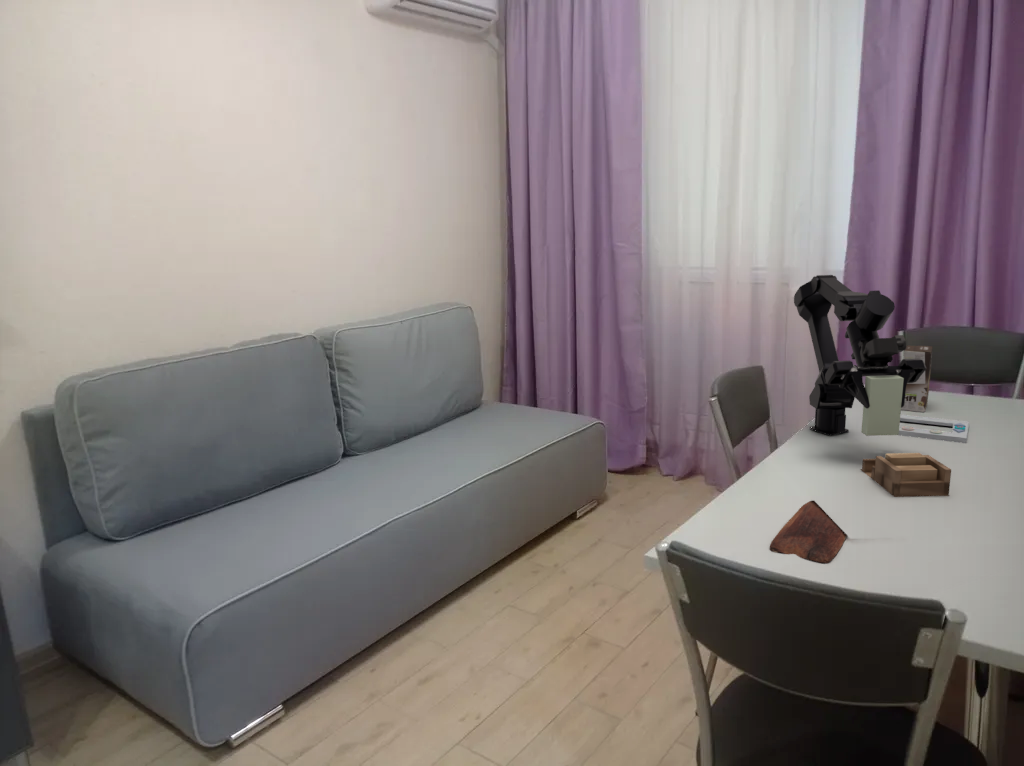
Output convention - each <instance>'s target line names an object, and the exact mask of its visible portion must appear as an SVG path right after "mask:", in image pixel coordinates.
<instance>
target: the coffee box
mask: <svg viewBox="0 0 1024 766" xmlns="http://www.w3.org/2000/svg"><path fill="white" fill-rule="evenodd" d="M906 346H907V347H906V350H904V351H903V359H921V360H923V361H924V363H925V366H926V370H925V371H924V373H923V374H922V375H921V376H920V378H919V379H918V380H917V381H916V382H914V383H907V385H906V393H905V403H904V406H903V407H902V408H901V411H911V412H918V413H925V412H926V409H927V406H928V403H929V402H928V401H929V393H930V382H931V371H932V358H933V348H934V347H933V346H932V345H931V346H930V345H909V344H908V345H907V344H906Z"/></svg>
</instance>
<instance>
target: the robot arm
mask: <svg viewBox="0 0 1024 766" xmlns="http://www.w3.org/2000/svg"><path fill="white" fill-rule="evenodd" d="M793 303H794V307H796V309H797V312H798V313H797V314H798V315H799V316H800V318H802V319H803V320H804V321H806V323H807V325H808V329H809V332H810V333H809V334H810V338H811V342H812V346H813V350H814V355H815V360H816V363H817V368H818V375H817V377H816V380H815V382H814V387H813V389H812V391H811V393H810V394H809V399H808V400H809V406H811V407H813V408H814V409H815V410H814V411H815V415H814V426H809V429H810V428H811V427H812V428H811V429H813V430H812V431H814V430H816V431H815V432H817V431H818V433H820V432H821V433H820V434H824V435H826V436H834V435H838V434H845V433H849V431H850V430H849V429H848V428H846V421H847V414H846V409H853V405H854V401H855V399H856V400H858V401H859V403H860V404H861V405H862V407H863V406H864V407H865V408H869V407H870V404H869V399H868V396H867V393H866V390H865V383H864V382H863V377H866V376H895V375H898V376H900V377H902V378H904V381H903V392H902V402H901V408H902V407H903V406H904V403H905V393H906V385H907V383H914V382H916V381H917V380H918V379H919V378H920V376H921V375H922V374H923V373H924V371H925V370H926V366H925V363H924V361H923V360H921V359H904V358H902V360H901V361H900V362H899V363H898V365H889V363H892V362H893V360H894V358H893V356H895V355H899V354H900V353H901V352H904V350H906V347H907V340H906V338H905V335H900V334H899V335H898V334H897V335H894V336H892V337H883V338H882V337H880V335H879V332H878V331H880V330H882V329H883V328H884V326H885V325H886V323H887V322H888V320H889V319H890V317H891V316H892V314H893V313H894V311H895V308H896V307H895V303H894V301H893V300H891V298H890V297H888V296H886V295H884V294H881V291H880V290H869V292H868V294H867V293H866V292H858V291H853V290H851V289H850V288H849V287H847V286H846V285H844V283H842V282H841V281H840V280H838V278H837V276H836V275H833V274H820V275H819V274H817V275H816V276H815V275H814V276H813V277H812V279H811V280H809V281H808V282H806V283H804V284H802V285H800V286H799V287H798V288H797V291H795V293H794V295H793ZM832 305H833V307H834V309H833V313H834V315H835V317H837V320H839V322H849V324H848V325H847V327H846V331H845V333H844V339H849V344H850V346H851V350H852V354H851V355H850V356H851V359H852V360H855V363H856V364H854V363H853V361H852V360H840V359H839V356H838V352H837V348H836V345H835V340H834V337H833V333H832V329H831V324H830V321H829V317H828V315H829V312H830V310H831V308H832ZM811 429H810V430H811Z"/></svg>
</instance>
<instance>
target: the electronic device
mask: <svg viewBox="0 0 1024 766" xmlns="http://www.w3.org/2000/svg"><path fill="white" fill-rule="evenodd" d="M900 422H908V423H915V424H916V423H917V424H926V425H927V424H928V425H936V426H945V427H952V428H951V429H952V430H951V432H950V431H942V430H939V429H924V428H923V429H922V428H916V427H915V428H914V426H913V427H912V426H906V425H905V426H899V435H898V436H901V435H902V437H909V436H911V437H910V438H918V437H920V438H919V439H926V438H927V439H928V440H935V441H943V440H944V442H952V441H954V442H953V443H960V442H962V444H967V440H968V434H969V426H970V421H968V420H959V419H958V420H957V419H949V418H940V417H939V418H938V417H929V416H928V417H927V416H920V415H919V416H918V415H907V414H900Z"/></svg>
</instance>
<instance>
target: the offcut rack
mask: <svg viewBox="0 0 1024 766" xmlns="http://www.w3.org/2000/svg"><path fill="white" fill-rule="evenodd" d="M923 455H924V456H925V457H926V463H925V465H931V466H932V467H934V468H936V469H937V479H936V481H901V470H900V469H899V468H897V467H896V466H894V465H893V464H892V463H890V462H889V461H887V460H886V459H885V457H883V456H882V455H878V456H877V455H876V457H875V458H862V462H861V463H862V464H861V468H860V469H859V470H860V471H862V472H863V473H864V474H865V475H867V477H869V478H870V479H872V480H873V481H874V482H875V483H876V484H878V485H879V486H880V487H881V488H882V489H884V490H885V491H886V492H887V493H889V494H890V495H891V496H892V497H894V498H904V497H905V498H908V497H909V498H910V497H916V498H917V497H946V496H947V497H949V496H950V487H951V479H952V478H951V477H952V468H950V467H948V466H947V465H946V464H943V463H941V461H939V460H937V459H936V458H934V457H932V456H930V455H929V454H923Z"/></svg>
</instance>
